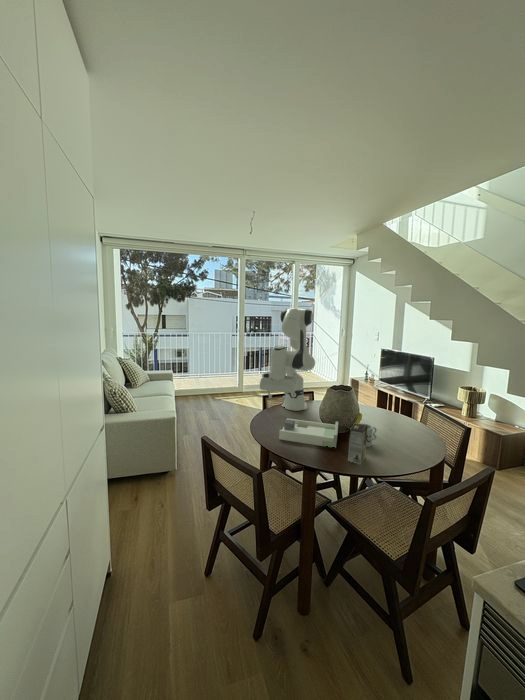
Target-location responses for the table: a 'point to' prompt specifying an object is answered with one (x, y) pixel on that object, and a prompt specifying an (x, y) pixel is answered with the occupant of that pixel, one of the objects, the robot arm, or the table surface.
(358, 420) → the plant pot
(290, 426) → the block
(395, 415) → the table surface
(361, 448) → the coffee box
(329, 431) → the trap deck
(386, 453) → the table surface
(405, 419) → the table surface
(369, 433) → the mug
